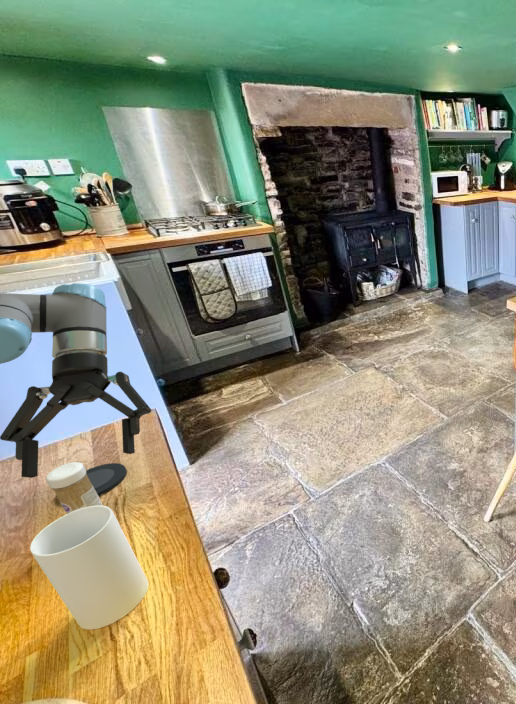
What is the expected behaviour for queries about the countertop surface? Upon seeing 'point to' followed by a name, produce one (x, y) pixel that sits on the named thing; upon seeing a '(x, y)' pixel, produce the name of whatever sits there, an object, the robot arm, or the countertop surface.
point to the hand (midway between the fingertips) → (81, 464)
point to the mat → (106, 476)
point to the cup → (91, 566)
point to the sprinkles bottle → (73, 487)
